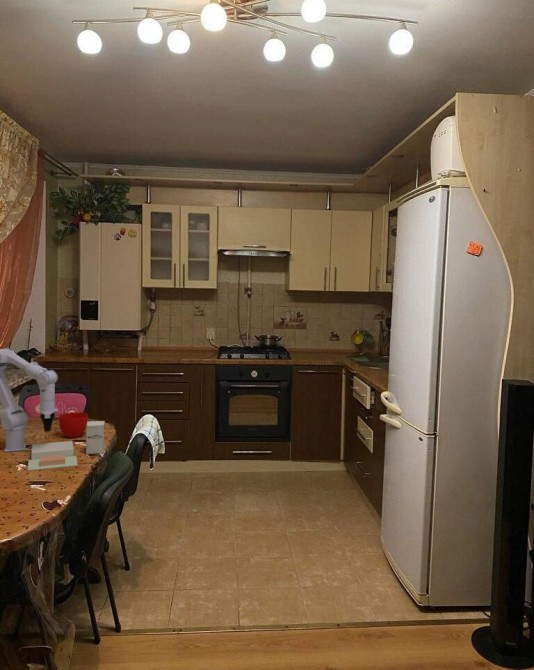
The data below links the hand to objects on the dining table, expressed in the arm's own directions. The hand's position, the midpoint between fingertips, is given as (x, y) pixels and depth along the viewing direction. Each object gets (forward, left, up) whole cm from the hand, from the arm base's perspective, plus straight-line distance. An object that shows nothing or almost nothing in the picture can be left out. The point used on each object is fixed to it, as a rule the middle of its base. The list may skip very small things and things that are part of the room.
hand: (47, 431), depth 216 cm
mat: (+15, +2, -9) cm, 18 cm away
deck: (+2, +2, -9) cm, 10 cm away
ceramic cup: (-25, +12, -10) cm, 29 cm away
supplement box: (+4, +19, -10) cm, 22 cm away
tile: (+15, +2, -7) cm, 17 cm away
